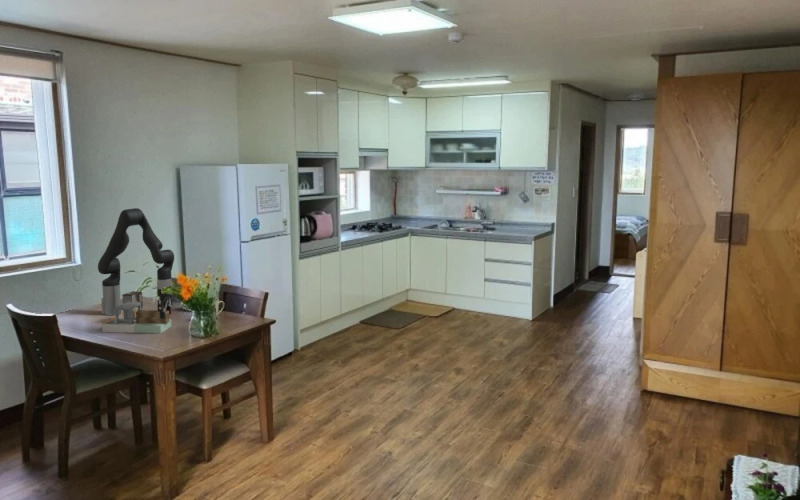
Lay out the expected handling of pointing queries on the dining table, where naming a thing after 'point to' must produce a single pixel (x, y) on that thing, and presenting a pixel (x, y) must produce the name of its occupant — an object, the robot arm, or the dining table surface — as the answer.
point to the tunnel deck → (132, 322)
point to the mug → (218, 305)
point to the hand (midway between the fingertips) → (165, 316)
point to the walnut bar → (151, 317)
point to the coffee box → (132, 297)
